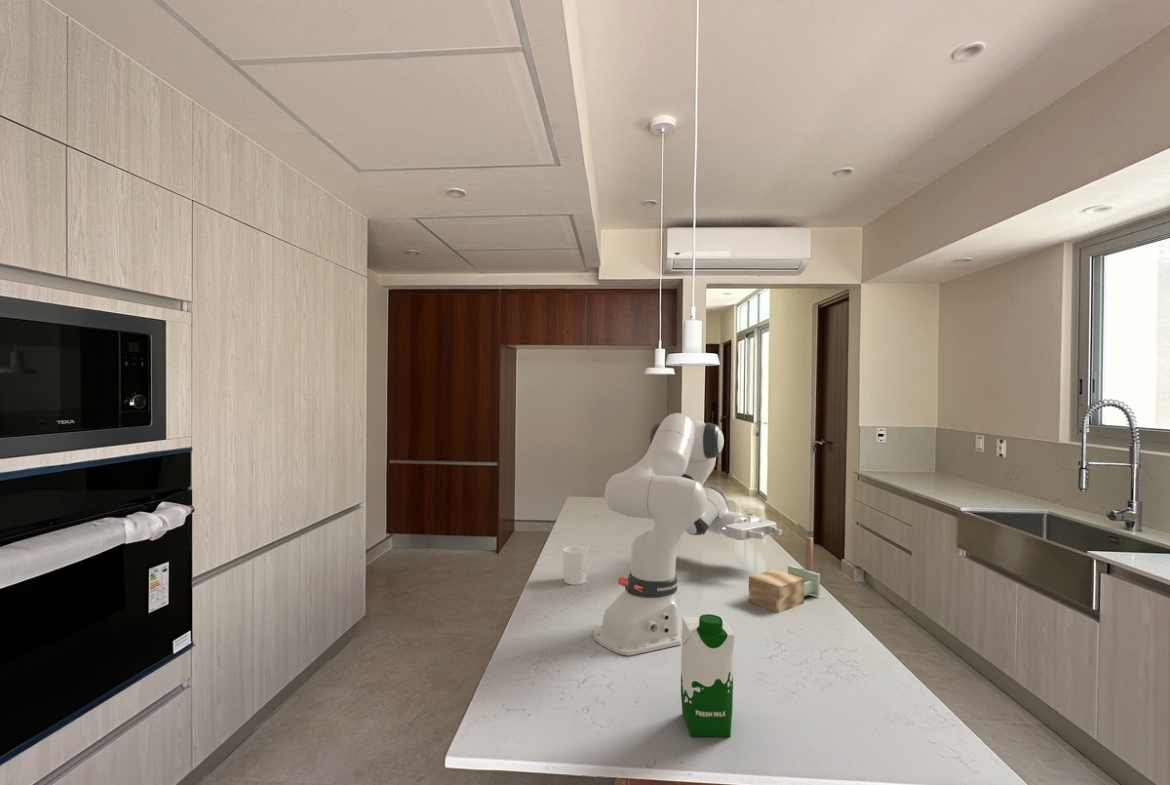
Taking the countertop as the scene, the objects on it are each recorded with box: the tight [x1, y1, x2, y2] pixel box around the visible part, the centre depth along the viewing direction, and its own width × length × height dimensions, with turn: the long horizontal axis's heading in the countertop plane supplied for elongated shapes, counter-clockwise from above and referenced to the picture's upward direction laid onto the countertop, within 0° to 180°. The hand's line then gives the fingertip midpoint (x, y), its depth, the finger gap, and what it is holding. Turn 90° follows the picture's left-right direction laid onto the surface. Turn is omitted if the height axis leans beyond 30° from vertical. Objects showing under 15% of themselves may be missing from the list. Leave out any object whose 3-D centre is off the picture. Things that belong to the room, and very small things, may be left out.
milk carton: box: [680, 613, 735, 738], centre depth 100 cm, size 9×9×20 cm
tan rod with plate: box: [787, 536, 821, 597], centre depth 165 cm, size 15×10×16 cm, turn 127°
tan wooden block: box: [748, 568, 805, 613], centre depth 159 cm, size 12×10×7 cm
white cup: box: [562, 545, 589, 586], centre depth 173 cm, size 8×8×10 cm
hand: (772, 534), depth 179 cm, fingers open, 8 cm apart
